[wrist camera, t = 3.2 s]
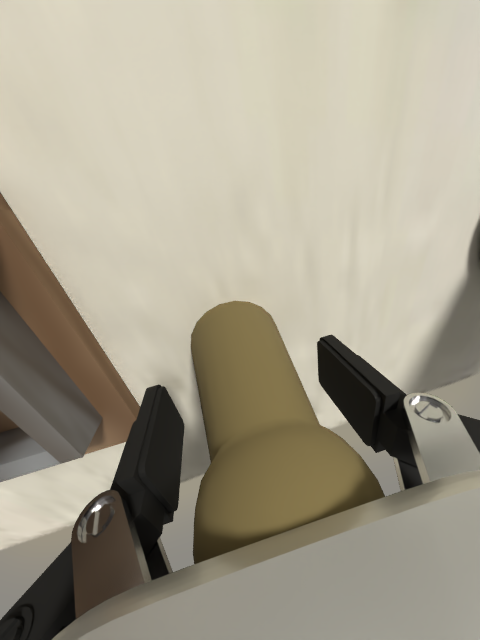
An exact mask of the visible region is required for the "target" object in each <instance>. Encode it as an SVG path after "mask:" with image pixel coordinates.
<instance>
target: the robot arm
mask: <svg viewBox="0 0 480 640" xmlns="http://www.w3.org/2000/svg"><path fill="white" fill-rule="evenodd" d="M317 350H318V375H319V382H320V384H321V386H322V387H323V389H324V390H325V391H326V393H327V394H328V395H329V397H330V398H331V399H332V401H333V402H334V403H335V405H336V406H337V407H338V409H339V410H340V411H341V413H342V414H343V415H344V417H345V418H346V419H347V421H348V422H349V423H350V425H351V426H352V427H353V429H354V430H355V431H356V433H357V434H358V435H359V436H360V438H361V439H362V441H363V442H364V443H365V444H366V445H367V446H371V447H372V448H373V449H374V451H375V452H376V453H377V452H380V451H383V450H386V451H387V452H388V453H389V454H390V456H392V457H393V459H394V463H395V468H396V472H397V477H398V481H399V485H400V489H401V491H400V492H398V493H395V494H392V495H389V496H386V497H383V498H380V499H378V500H375V501H372V502H369V503H366V504H363V505H360V506H357V507H355V508H352V509H349V510H346V511H343V512H340V513H337V514H334V515H332V516H329V517H326V518H323V519H320V520H317V521H315V522H312V523H309V524H306V525H303V526H301V527H298V528H295V529H292V530H289V531H286V532H284V533H281V534H278V535H275V536H272V537H270V538H267V539H264V540H261V541H258V542H255V543H253V544H250V545H247V546H244V547H242V548H239V549H236V550H233V551H230V552H228V553H225V554H222V555H219V556H217V557H214V558H211V559H208V560H206V561H203V562H200V563H197V564H194V565H192V566H189V567H186V568H183V569H181V570H178V571H176V572H173V571H172V568H171V566H170V563H169V560H168V558H167V555H166V552H165V550H164V547H163V544H162V542H161V539H160V536H161V534H162V529H163V525H164V524H167V523H169V522H172V521H173V514H174V511H176V510H177V508H178V500H179V487H180V474H181V461H182V448H183V436H184V423H183V420H182V418H181V416H180V414H179V412H178V410H177V409H176V407H175V405H174V403H173V401H172V399H171V397H170V395H169V394H168V392H167V390H166V388H165V387H164V386H163V387H161V385H156V386H153V387H149V388H147V389H146V392H145V395H144V398H143V401H142V404H141V407H140V410H139V413H138V416H137V419H136V421H134V423H133V424H132V427H131V430H130V433H129V436H128V439H127V442H126V445H125V447H124V450H123V453H122V456H121V459H120V462H119V465H118V468H117V471H116V474H115V477H114V480H113V483H112V486H111V489H110V490H108V491H105V492H103V493H101V494H99V495H98V496H96V497H95V498H94V499H93V500H92V501H91V502H90V503H89V504H88V505H87V506H86V507H85V508H84V510H83V511H82V512H81V514H80V515H79V517H78V519H77V521H76V523H75V525H74V528H73V531H72V538H71V543H70V544H69V545H68V546H67V547H66V548H65V549H64V551H63V552H62V553H61V554H60V555H59V556H58V557H57V558H56V559H55V560H54V562H53V563H52V564H51V565H50V566H49V567H48V568H47V569H46V570H45V571H44V573H43V574H42V575H41V576H40V577H39V578H38V579H37V580H36V581H35V582H34V584H33V585H32V586H31V587H30V588H29V589H28V590H27V591H26V592H25V593H24V595H23V596H22V597H21V598H20V599H19V600H18V601H17V602H16V603H15V604H14V606H13V607H12V608H11V609H10V610H9V611H8V612H7V613H6V615H4V617H3V618H2V619H1V620H0V640H480V420H477V419H473V418H470V417H466V416H462V415H458V414H457V413H456V411H455V410H454V409H453V407H452V406H450V405H449V404H448V403H447V402H445V401H444V400H442V399H440V398H438V397H435V396H433V395H430V394H426V393H411V394H408V395H406V394H405V393H404V392H403V391H401V390H400V389H399V388H398V387H397V386H395V385H394V384H393V383H392V382H390V381H389V380H388V379H387V378H386V377H384V376H383V375H382V374H381V373H380V372H378V371H377V370H376V369H375V368H373V367H372V366H371V365H370V364H369V363H367V362H366V361H365V360H364V359H363V358H361V357H360V356H358V355H356V354H355V353H354V352H352V351H351V350H350V349H349V348H348V347H346V346H345V345H344V344H343V343H342V342H340V341H339V340H338V339H337V338H336V337H334V336H333V335H328V336H325V337H321V338H320V341H318V342H317Z"/></svg>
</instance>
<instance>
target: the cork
mask: <svg viewBox="0 0 480 640" xmlns="http://www.w3.org/2000/svg"><path fill="white" fill-rule="evenodd" d="M191 351H192V356H193V362H194V368H195V374H196V379H197V385H198V391H199V397H200V402H201V408H202V414H203V420H204V425H205V431H206V437H207V443H208V448H209V454H210V460H211V464H210V466H209V468H208V470H207V471H206V473H205V475H204V477H203V478H202V480H201V485H200V489H199V493H198V498H197V503H196V508H195V518H194V543H193V556H194V564H197V563H200V562H203V561H206V560H208V559H211V558H214V557H217V556H219V555H222V554H225V553H228V552H230V551H233V550H236V549H239V548H242V547H244V546H247V545H250V544H253V543H255V542H258V541H261V540H264V539H267V538H270V537H272V536H275V535H278V534H281V533H284V532H286V531H289V530H292V529H295V528H298V527H301V526H303V525H306V524H309V523H312V522H315V521H317V520H320V519H323V518H326V517H329V516H332V515H334V514H337V513H340V512H343V511H346V510H349V509H352V508H355V507H357V506H360V505H363V504H366V503H369V502H372V501H375V500H378V499H380V498H383V497H385V495H384V493H383V491H382V489H381V486H380V484H379V482H378V480H377V479H376V477H375V476H374V474H373V473H372V471H371V470H370V469H369V467H368V466H367V464H366V463H365V462H364V460H363V459H362V457H361V456H360V455H359V454H358V453H357V452H356V451H355V450H354V449H353V448H352V447H351V446H349V444H348V443H347V442H346V441H345V440H344V439H343V438H341V437H340V436H338V435H337V434H335V433H334V432H332V431H331V430H329V429H327V428H325V427H323V426H321V425H320V424H319V422H318V420H317V417H316V415H315V413H314V411H313V408H312V406H311V404H310V401H309V399H308V397H307V395H306V392H305V390H304V388H303V386H302V383H301V381H300V379H299V376H298V374H297V372H296V370H295V367H294V365H293V363H292V361H291V358H290V356H289V354H288V351H287V349H286V347H285V345H284V342H283V340H282V338H281V336H280V333H279V331H278V329H277V326H276V324H275V322H274V321H273V319H272V317H271V315H270V314H269V313H268V312H266V311H265V310H264V309H263V308H262V307H260V306H257V305H255V304H253V303H250V302H241V301H232V302H228V303H224V304H219V305H218V306H216V307H214V308H213V309H211V310H209V311H207V312H206V313H205V314H204V315H203V316H202V317H201V319H200V320H199V321H198V322H197V323H196V326H195V328H194V330H193V332H192V335H191Z"/></svg>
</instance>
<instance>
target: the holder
mask: <svg viewBox="0 0 480 640" xmlns="http://www.w3.org/2000/svg"><path fill="white" fill-rule="evenodd" d="M139 410H140V406H139V405H138V403H137V402H136V400H135V399H134V397H133V396H132V394H131V393H130V391H129V390H128V388H127V386H126V385H125V383H124V382H123V380H122V379H121V377H120V376H119V374H118V373H117V371H116V370H115V368H114V367H113V365H112V363H111V362H110V360H109V359H108V357H107V356H106V354H105V353H104V351H103V350H102V348H101V347H100V345H99V343H98V342H97V340H96V339H95V337H94V336H93V334H92V333H91V331H90V330H89V328H88V327H87V325H86V324H85V322H84V320H83V319H82V317H81V316H80V314H79V313H78V311H77V310H76V308H75V307H74V305H73V304H72V302H71V301H70V299H69V297H68V296H67V294H66V293H65V291H64V290H63V288H62V287H61V285H60V284H59V282H58V281H57V279H56V278H55V276H54V274H53V273H52V271H51V270H50V268H49V267H48V265H47V264H46V262H45V261H44V259H43V258H42V256H41V255H40V253H39V251H38V250H37V248H36V247H35V245H34V244H33V242H32V241H31V239H30V238H29V236H28V235H27V233H26V231H25V230H24V228H23V227H22V225H21V224H20V222H19V221H18V219H17V218H16V216H15V215H14V213H13V212H12V210H11V208H10V207H9V205H8V204H7V202H6V201H5V199H4V198H3V196H2V195H1V193H0V482H3V481H6V480H9V479H12V478H16V477H19V476H22V475H26V474H29V473H32V472H35V471H39V470H42V469H45V468H48V467H52V466H55V465H58V464H61V463H65V462H68V461H71V460H75V459H78V458H81V457H83V456H84V454H87V453H91V452H94V451H97V450H101V449H104V448H107V447H110V446H114V445H117V444H120V443H123V442H127V439H128V436H129V433H130V430H131V427H132V424H133V423H134V421H136V419H137V416H138V413H139Z"/></svg>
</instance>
